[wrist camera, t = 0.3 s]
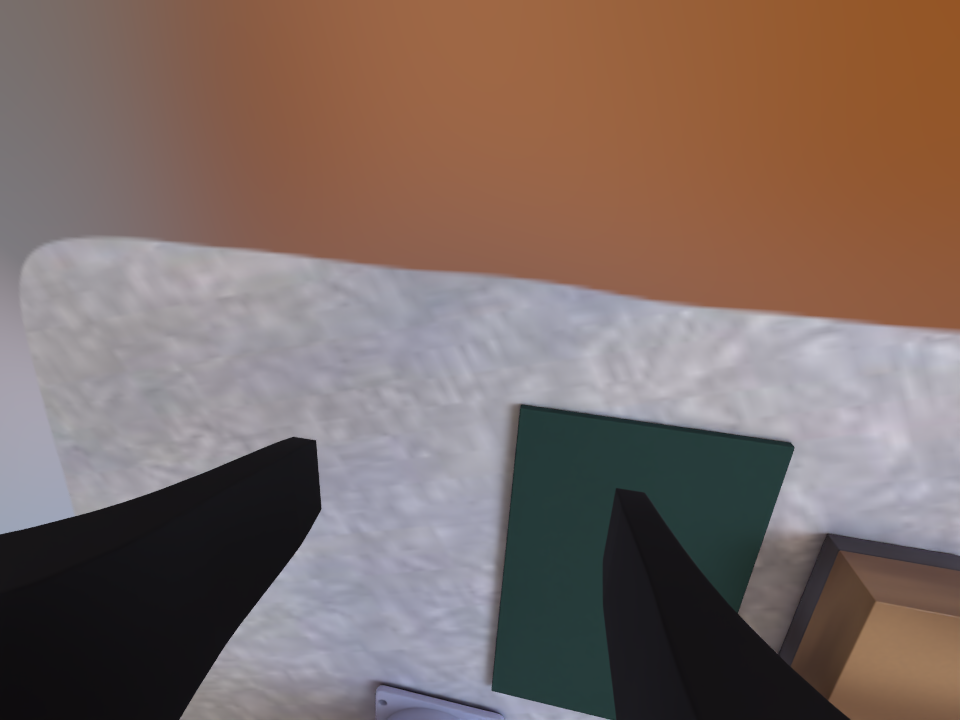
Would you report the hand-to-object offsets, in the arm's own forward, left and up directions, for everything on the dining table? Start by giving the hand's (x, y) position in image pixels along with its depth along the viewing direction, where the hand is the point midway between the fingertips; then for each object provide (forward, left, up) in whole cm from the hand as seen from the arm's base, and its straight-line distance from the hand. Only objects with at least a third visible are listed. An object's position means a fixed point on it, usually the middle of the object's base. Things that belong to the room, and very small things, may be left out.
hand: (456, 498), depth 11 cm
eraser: (-12, -17, -10) cm, 23 cm away
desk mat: (-11, -6, -10) cm, 16 cm away
